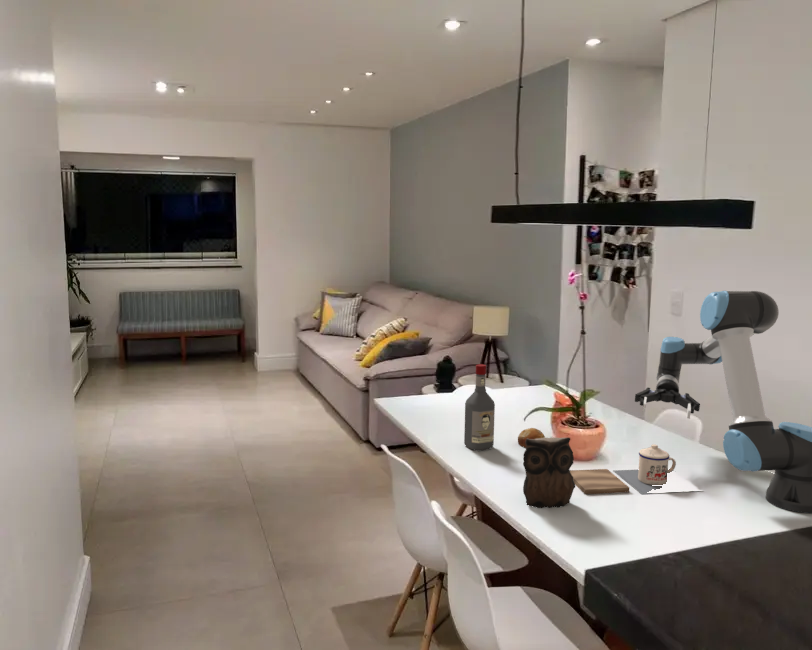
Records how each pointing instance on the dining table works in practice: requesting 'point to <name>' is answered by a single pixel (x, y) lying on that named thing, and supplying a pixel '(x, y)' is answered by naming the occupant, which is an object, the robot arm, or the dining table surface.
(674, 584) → the dining table surface
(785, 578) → the dining table surface
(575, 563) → the dining table surface
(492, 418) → the liquor
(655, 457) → the teacup with lid
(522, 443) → the bread roll
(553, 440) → the owl
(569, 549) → the dining table surface
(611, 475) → the walnut board
